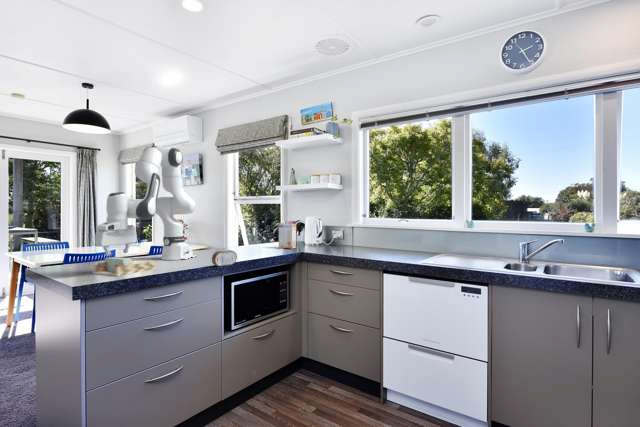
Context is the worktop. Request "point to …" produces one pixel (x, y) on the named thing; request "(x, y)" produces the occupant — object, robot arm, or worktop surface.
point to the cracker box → (287, 235)
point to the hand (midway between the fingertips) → (117, 254)
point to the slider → (116, 262)
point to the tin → (224, 258)
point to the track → (123, 268)
